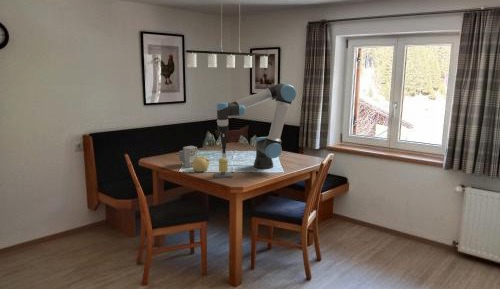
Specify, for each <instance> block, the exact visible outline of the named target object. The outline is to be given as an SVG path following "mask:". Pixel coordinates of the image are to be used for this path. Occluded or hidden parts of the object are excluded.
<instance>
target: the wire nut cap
mask: <svg viewBox="0 0 500 289" xmlns="http://www.w3.org/2000/svg"><path fill="white" fill-rule="evenodd" d="M228 162H229V160H228V158H227V157H226V158H222V157H220V158H219V159H218V172H228V169H229V168H228V164H229V163H228Z"/></svg>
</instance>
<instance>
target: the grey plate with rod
mask: <svg viewBox="0 0 500 289" xmlns="http://www.w3.org/2000/svg"><path fill="white" fill-rule="evenodd" d="M214 178H215V179H220V178H221V179H222V178H223V179H224V178H225V179H226V178H230V179H231V178H233V172H232V171H227V172H220V171H214Z"/></svg>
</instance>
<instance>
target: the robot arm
mask: <svg viewBox="0 0 500 289" xmlns="http://www.w3.org/2000/svg"><path fill="white" fill-rule="evenodd" d="M296 98H297V90H296V88H295V87H294V86H293V85H291V84H288V83H276V84H274V85H272V86H268V87H267V88H265V90H262V91H260V92H257V93H254V94H251V95H248V96H246V97H243V98H240V99H237V100H234V101H232V102H218V103H217V105H216V117H217V118H216V119H217V120H216V123H217V124H216V125H217V132H220V133H219V136H220V149H221V150H220V151H221V153H220V154H221V158H227V142H226V141H227V133H226V132H229V117H241V116H245V114H246V109H249V108H250V107H253V106H256V105H260V104H261V103H264V102H266V101H275V103H276V105H275V109H274V113H273V116H272V120H271V125H270V129H269V134H268V136H260V137H256V138H255V159H254V162H253V167H254V168H255V169H260V170H261V169H262V170H266V169H268V170H269V169H272V168H274V161H273V159H277V158H278V157H279V156H280V155H281V154H282V152H283V149H282V145H281V144H282V140H281V136H282V132H283V128H284V124H285V120H286V117H287V113H288V109H289V107H290V106H291V105H292V102H293V101H294V100H295V99H296Z"/></svg>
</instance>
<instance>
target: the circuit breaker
mask: <svg viewBox="0 0 500 289" xmlns="http://www.w3.org/2000/svg"><path fill="white" fill-rule="evenodd" d="M178 155H179V158H178V159H179V160H178V161H179V162H182V163H183V166H182V167H185V168H188V169H193V167H192V164H193V161H194V160H195V158H196V157H198V146H194V145H188V146H187V145H186V146H183V147H182V150H179V151H178Z"/></svg>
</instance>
